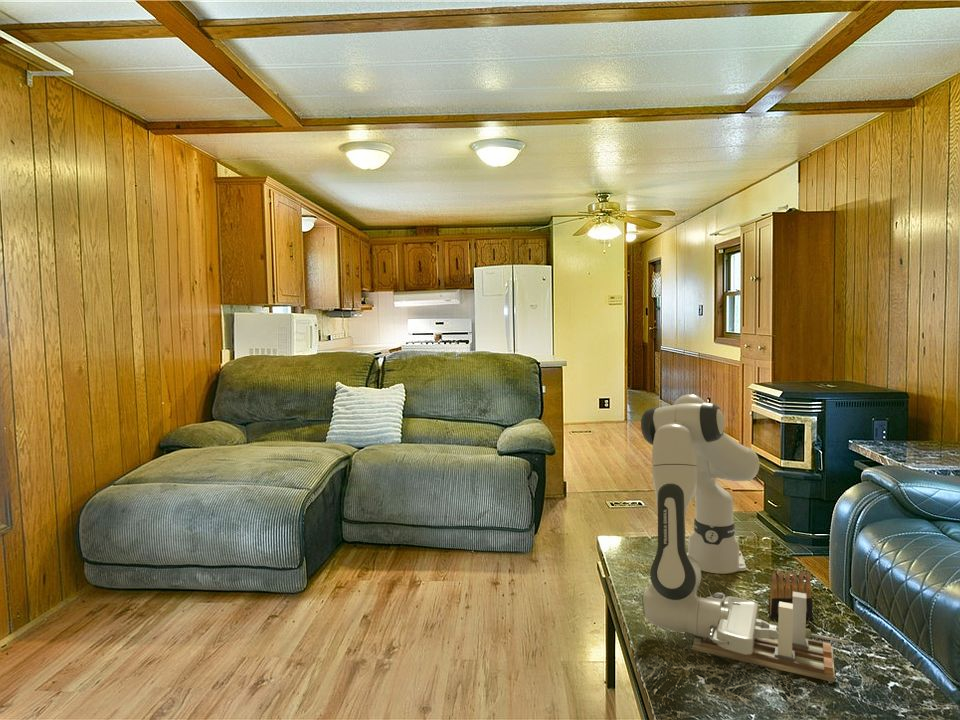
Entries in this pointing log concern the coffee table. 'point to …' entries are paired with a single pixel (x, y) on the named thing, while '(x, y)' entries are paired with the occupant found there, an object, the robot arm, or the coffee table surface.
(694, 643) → the wooden double track board
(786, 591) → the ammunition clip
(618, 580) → the coffee table surface
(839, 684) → the coffee table surface
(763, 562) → the coffee table surface
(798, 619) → the pillar on grey base
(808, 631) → the screwdriver
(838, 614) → the coffee table surface
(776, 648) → the beige rectangular pillar
